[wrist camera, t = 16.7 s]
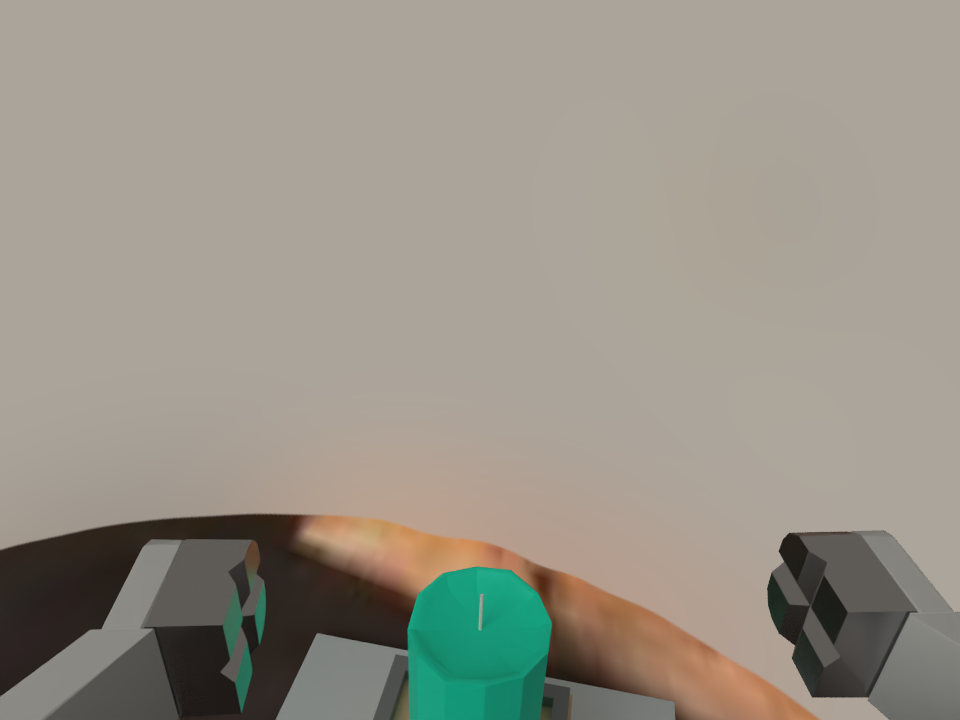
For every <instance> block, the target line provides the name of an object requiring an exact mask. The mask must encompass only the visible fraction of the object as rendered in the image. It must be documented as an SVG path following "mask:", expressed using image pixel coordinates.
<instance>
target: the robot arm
mask: <svg viewBox="0 0 960 720" xmlns="http://www.w3.org/2000/svg"><path fill="white" fill-rule="evenodd" d="M779 553H780V554H781V556H782V558H783V560H784V563H782V564H781V565H780V566H779V567H778V568H776V569H775V570H774V571H773V572H772V573H771V577H770V580H769V584H768V588H767V590H768V606H769V610H770V613H771V617H772V620H773V622H774V624H775V626H776V628H777V630H778V632H779V634H781V635H782V636H783V637H785V638H786V639H787V640H789V641H790V642H791V643H792V644H794V645H795V649H794V653H793V656H792V659H793V661H794V663H795V665H796V667H797V669H798V671H799V673H800V675H801V677H802V678H803V681H804V683H805V685H806V686H807V688H808V690H809V692H810V694H811V696H812V697H869V699H868V701H869V702H870V703H871V704H872V705H873V706H875V707H876V708H877V709H878V710H879V711H880V712H881V713H883V714H884V715H885V716H886V717H887V718H888V719H889V720H960V612H954V611H953V610H952V608H951V607H950V606H949V605H948V604H947V602H946V601H945V600H944V599H943V597H942V596H941V595H940V594H939V592H938V591H937V590H936V589H935V587H934V586H933V585H932V584H931V582H930V581H929V580H928V579H927V577H926V576H925V575H924V574H923V572H922V571H921V570H920V569H919V567H918V566H917V565H916V564H915V563H914V561H913V560H912V559H911V558H910V556H909V555H908V554H907V553H906V551H905V550H904V549H903V548H902V546H901V545H900V544H899V543H898V542H897V540H896V539H895V538H894V537H893V536H892V535H891V534H889V533H887V532H886V531H852V532H807V533H789V534H788V535H787V536H786V537H785V538H784V539H783V541H782V544H781V546H780V549H779ZM259 561H260V555H259V550H258V545H257V542H255V541H254V540H208V539H186V540H152V539H151V540H150V541H149V542H148V543H147V544H146V545H145V546H144V547H143V548H142V550H141V552H140V554H139V556H138V558H137V560H136V562H135V564H134V566H133V568H132V570H131V572H130V574H129V576H128V578H127V580H126V582H125V584H124V585H123V587H122V589H121V591H120V593H119V595H118V597H117V599H116V601H115V603H114V605H113V607H112V609H111V611H110V613H109V615H108V617H107V619H106V621H105V623H104V625H103V627H102V629H100V630H90V631H88V632H87V633H85V634H84V635H83V636H81V637H80V638H79V639H77V640H76V641H75V642H73V643H72V644H71V645H69V646H68V647H67V648H65V649H64V650H63V651H61V652H60V653H59V654H57V655H56V656H55V657H53V658H52V659H51V660H49V661H48V662H46V663H45V664H44V665H42V666H41V667H40V668H38V669H37V670H36V671H34V672H33V673H32V674H30V675H29V676H28V677H26V678H25V679H24V680H22V681H21V682H20V683H18V684H17V685H16V686H14V687H13V688H12V689H10V690H9V691H7V692H6V693H5V694H3V695H2V696H1V697H0V720H179V717H190V716H208V715H225V714H241V713H242V710H243V706H244V702H245V698H246V695H247V691H248V687H249V683H250V680H251V676H252V672H253V671H252V666H251V660H250V653H251V652H253V651H254V650H255V649H256V648H257V647H258V646H259V645H260V641H261V637H262V632H263V628H264V620H265V611H266V592H265V586H264V580H263V579H261V578H260V577H259V576H258V575H257V574H256V572H257V568H258V565H259Z"/></svg>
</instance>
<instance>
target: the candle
mask: <svg viewBox="0 0 960 720" xmlns="http://www.w3.org/2000/svg"><path fill="white" fill-rule="evenodd" d="M551 628H552V622H551V620H550V618H549V616H548V614H547V611H546V609H545V607H544V605H543V603H542V600H541V598H540V596H539V594H538V593H537V592H536V591H535V590H534V589H533V588H531V587H530V586H529V585H528V584H527V583H526V582H524V581H523V580H522V579H521V578H520V577H518V576H517V575H516V574H515V573H514V572H512V571H511V570H505V569H495V568H485V567H472V568H467V569H462V570H457V571H452V572H447V573H443V574H442V575H440V576H439V577H438V578H437V579H436V580H435V581H433V582H432V583H431V584H430V585H429V586H427V587H426V588H425V589H424V590H423V591H422V592H420V593H419V594H418V596H417V599H416V603H415V606H414V609H413V613H412V616H411V620H410V623H409V626H408V670H409V717H410V720H540V715H541V707H542V699H543V691H544V683H545V676H546V668H547V660H548V652H549V644H550V636H551Z"/></svg>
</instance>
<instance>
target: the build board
mask: <svg viewBox="0 0 960 720" xmlns="http://www.w3.org/2000/svg"><path fill="white" fill-rule="evenodd" d="M276 720H410V717H409V670H408V651H407V650H402V649H397V648H391V647H386V646H381V645H376V644H370V643H365V642H360V641H355V640H350V639H344V638H339V637H334V636H329V635H323V634H318V633H317V634H316V637H315V639H314V641H313V643H312V645H311V647H310V649H309V651H308V653H307V655H306V658H305V660H304V662H303V664H302V666H301V668H300V670H299V672H298V674H297V676H296V678H295V681H294V683H293V685H292V687H291V689H290V691H289V693H288V695H287V697H286V699H285V701H284V704H283V706H282V708H281V710H280V712H279V714H278V716H277V718H276ZM540 720H675V706H674V702H673V701H668V700H663V699H658V698H652V697H647V696H642V695H637V694H632V693H626V692H621V691H616V690H611V689H605V688H600V687H595V686H590V685H585V684H579V683H574V682H569V681H564V680H558V679H553V678H548V677H545V683H544V691H543V699H542V707H541V715H540Z"/></svg>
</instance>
